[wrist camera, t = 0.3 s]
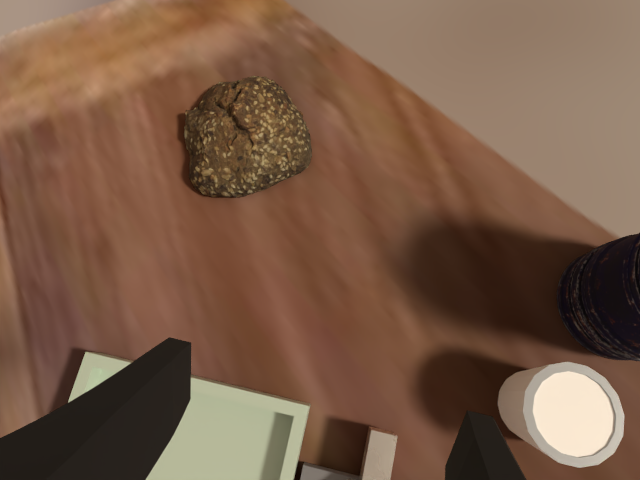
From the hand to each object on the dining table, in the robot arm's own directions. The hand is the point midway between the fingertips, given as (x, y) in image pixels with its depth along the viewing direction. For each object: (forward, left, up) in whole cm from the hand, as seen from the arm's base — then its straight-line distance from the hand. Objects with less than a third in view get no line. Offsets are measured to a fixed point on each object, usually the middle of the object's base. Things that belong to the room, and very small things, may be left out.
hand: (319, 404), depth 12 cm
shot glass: (+2, -17, -29) cm, 33 cm away
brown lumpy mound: (+21, +13, -29) cm, 38 cm away
